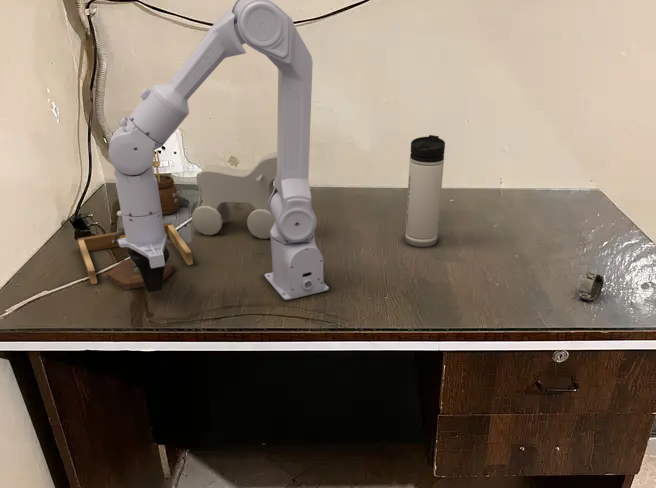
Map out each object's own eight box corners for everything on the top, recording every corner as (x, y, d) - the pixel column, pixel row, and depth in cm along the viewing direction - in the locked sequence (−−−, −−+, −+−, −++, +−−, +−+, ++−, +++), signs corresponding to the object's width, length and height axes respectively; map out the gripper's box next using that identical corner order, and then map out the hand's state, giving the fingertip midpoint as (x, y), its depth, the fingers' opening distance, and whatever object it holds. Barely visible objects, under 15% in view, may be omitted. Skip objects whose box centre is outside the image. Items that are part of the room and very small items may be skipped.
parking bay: (193, 264, 110) (191, 251, 109) (91, 284, 103) (88, 271, 102) (173, 234, 121) (171, 222, 120) (79, 250, 114) (77, 238, 113)
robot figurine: (173, 258, 112) (164, 195, 106) (178, 282, 105) (168, 215, 99) (107, 267, 109) (94, 202, 103) (107, 291, 101) (93, 223, 95)
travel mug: (441, 237, 123) (450, 137, 113) (430, 250, 118) (439, 146, 108) (412, 231, 126) (418, 132, 116) (400, 243, 120) (405, 141, 110)
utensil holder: (153, 217, 129) (144, 160, 123) (147, 207, 133) (138, 152, 127) (182, 213, 131) (175, 157, 125) (175, 203, 136) (168, 149, 130)
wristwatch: (595, 306, 104) (605, 279, 104) (587, 296, 100) (598, 268, 100) (577, 302, 106) (588, 275, 106) (569, 291, 102) (580, 264, 102)
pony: (301, 224, 128) (299, 143, 119) (291, 245, 119) (288, 158, 110) (206, 218, 129) (197, 137, 121) (189, 238, 120) (178, 152, 112)
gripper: (104, 198, 96) (120, 275, 103) (122, 232, 85) (137, 316, 92) (151, 191, 99) (163, 267, 106) (174, 223, 88) (185, 305, 95)
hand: (154, 289), depth 99 cm, fingers closed
